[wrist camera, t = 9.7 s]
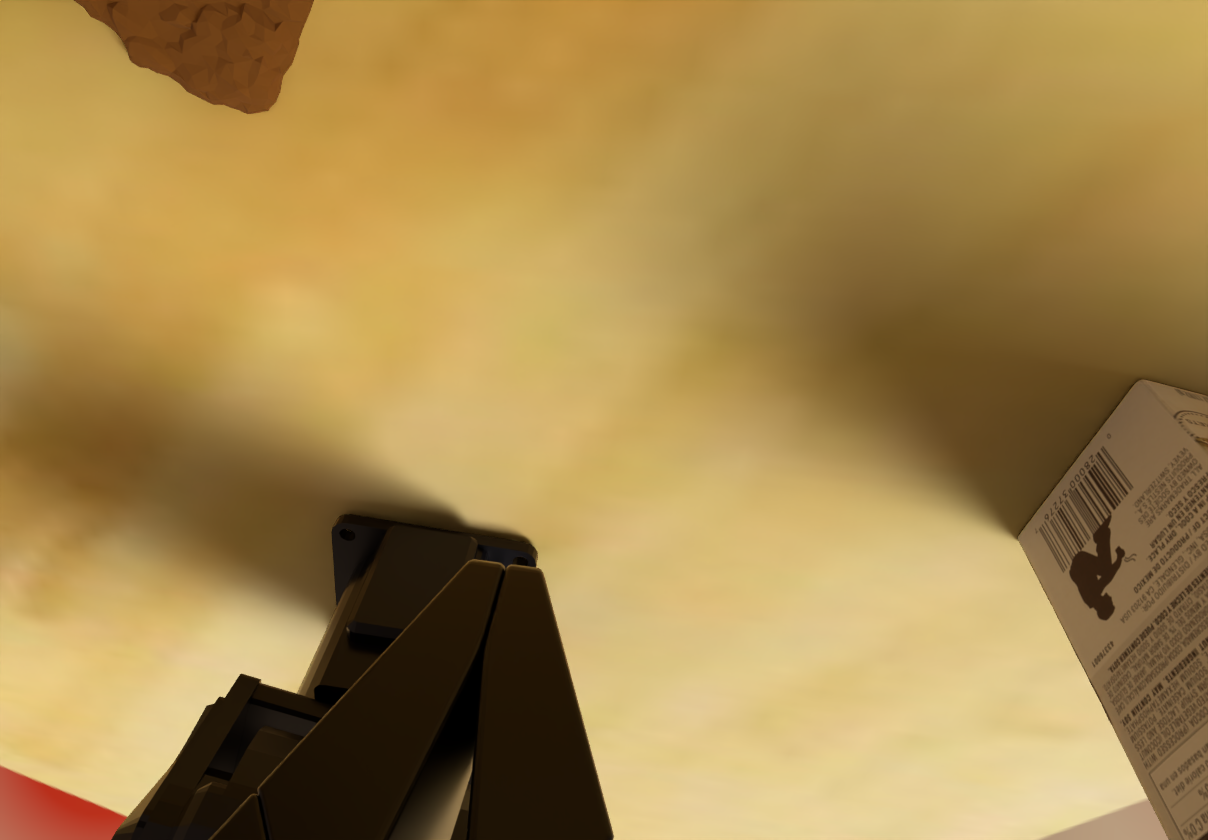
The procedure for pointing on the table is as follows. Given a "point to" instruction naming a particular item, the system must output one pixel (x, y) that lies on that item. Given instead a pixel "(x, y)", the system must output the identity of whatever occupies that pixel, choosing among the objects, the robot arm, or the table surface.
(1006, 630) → the table surface
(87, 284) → the table surface
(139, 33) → the primitive tool
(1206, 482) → the coffee box
